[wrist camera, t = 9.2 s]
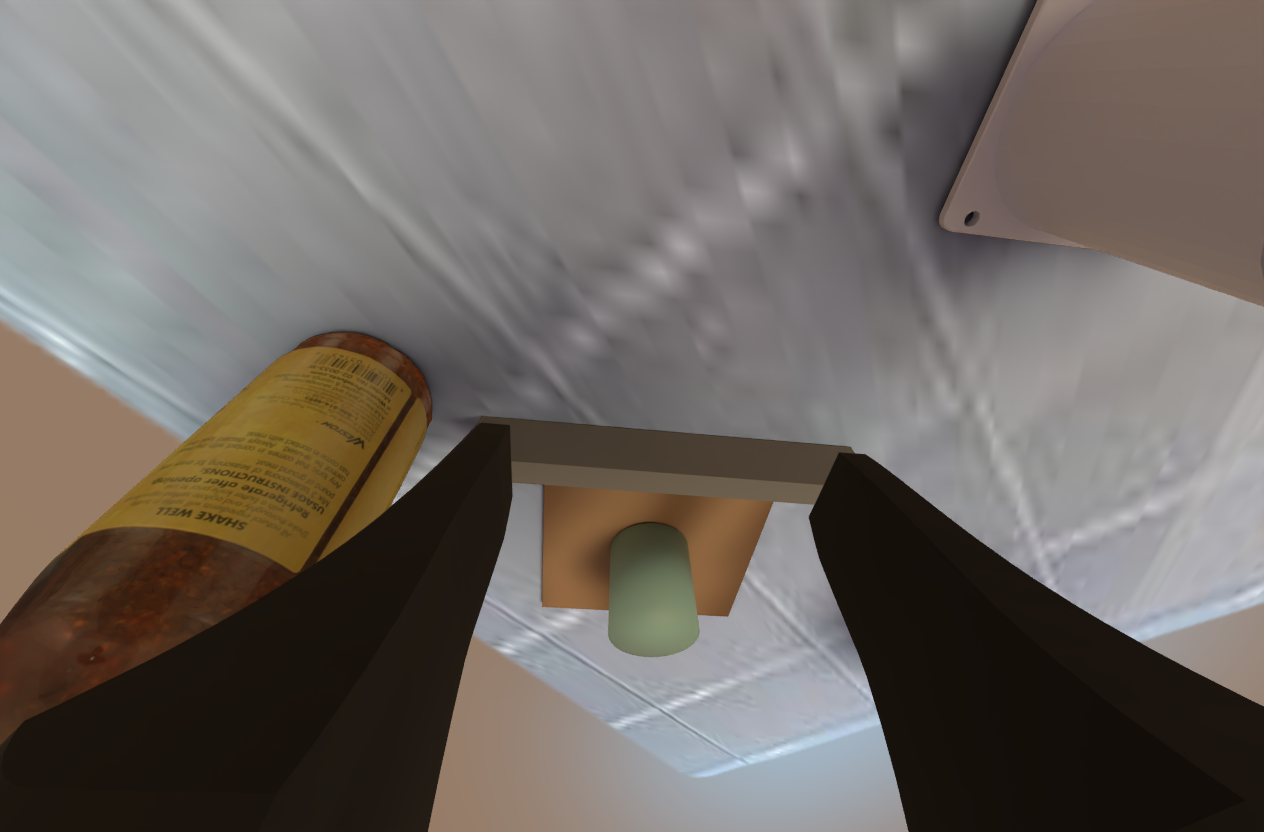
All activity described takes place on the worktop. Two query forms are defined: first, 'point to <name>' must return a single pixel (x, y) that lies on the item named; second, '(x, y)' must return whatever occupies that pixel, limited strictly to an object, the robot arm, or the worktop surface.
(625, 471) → the taupe wall
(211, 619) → the sauce bottle
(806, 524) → the worktop surface
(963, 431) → the worktop surface
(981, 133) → the robot arm
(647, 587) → the sage green cylinder
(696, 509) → the walnut board
